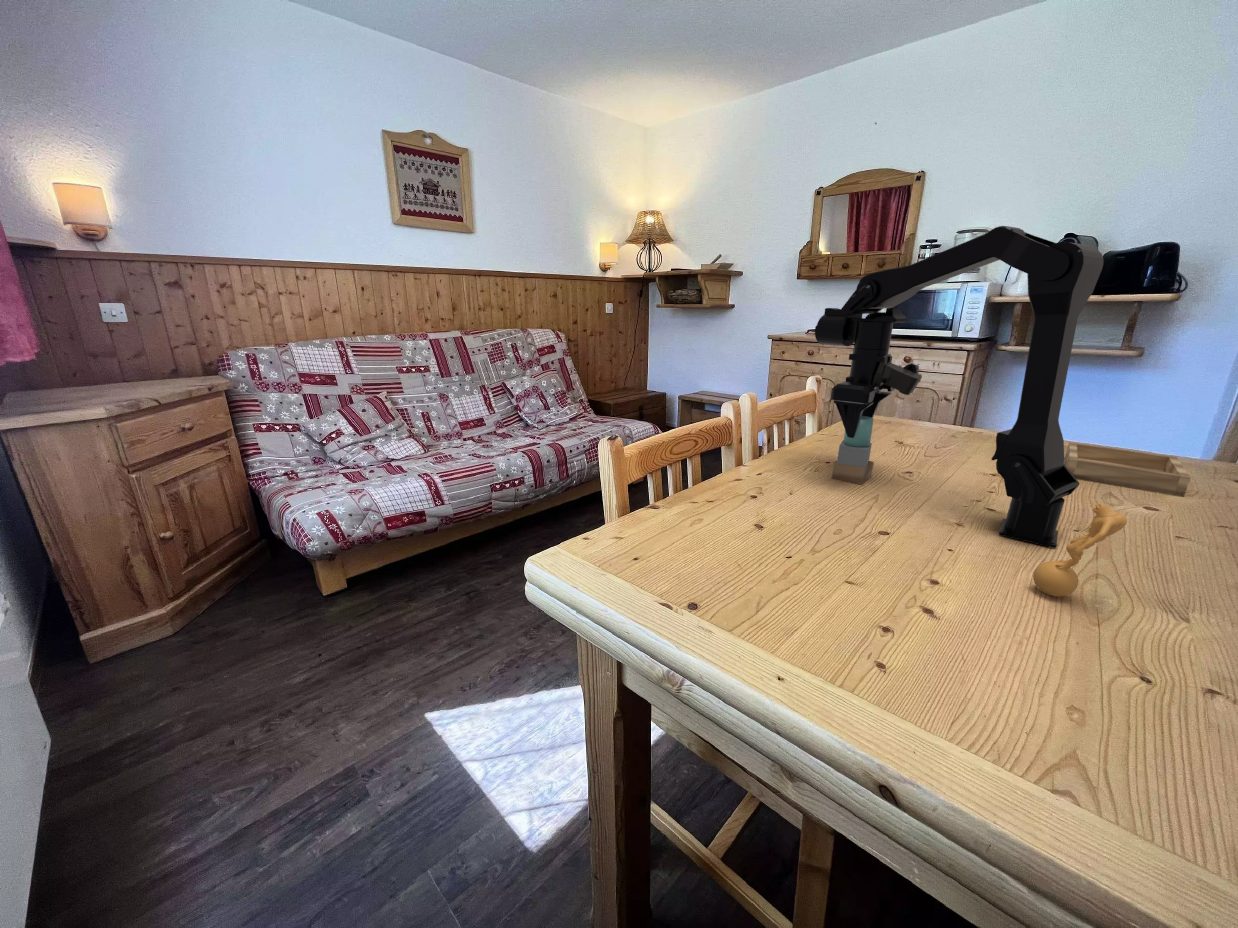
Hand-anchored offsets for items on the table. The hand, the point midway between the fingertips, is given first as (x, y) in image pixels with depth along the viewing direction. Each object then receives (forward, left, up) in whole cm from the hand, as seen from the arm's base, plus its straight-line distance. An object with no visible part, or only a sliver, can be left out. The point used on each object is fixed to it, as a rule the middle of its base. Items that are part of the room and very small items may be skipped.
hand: (858, 433), depth 94 cm
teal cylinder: (0, 0, -2) cm, 2 cm away
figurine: (-27, -31, -9) cm, 42 cm away
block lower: (0, 0, -9) cm, 9 cm away
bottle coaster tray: (+36, -39, -9) cm, 54 cm away
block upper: (0, 0, -6) cm, 6 cm away
